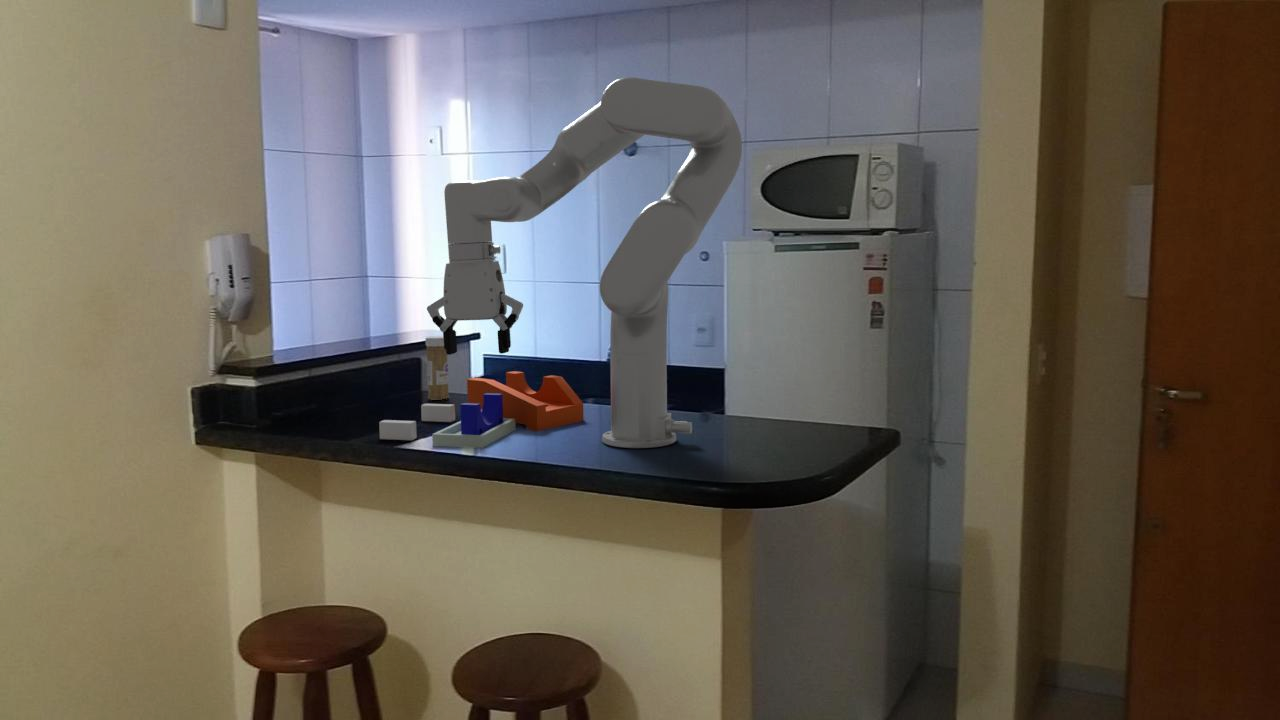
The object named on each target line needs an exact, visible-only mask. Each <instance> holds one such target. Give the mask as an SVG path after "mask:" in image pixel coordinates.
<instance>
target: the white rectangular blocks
mask: <svg viewBox="0 0 1280 720" xmlns="http://www.w3.org/2000/svg"><path fill="white" fill-rule="evenodd" d="M420 409H421V410H420V412H421V413H420V414H421V421H422V422H436V423H437V422H441V423H443V422H444V423H452V422H454V421H456V404H448V403H446V404H445V403H422V404H421V405H420ZM378 423H379V428H378V429H379V440H392V441H397V440H399V441H414V440H415V439H417V420H399V419H398V420H396V419H393V420H392V419H383V420H381V421H379V422H378Z"/></svg>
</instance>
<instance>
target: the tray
mask: <svg viewBox="0 0 1280 720" xmlns="http://www.w3.org/2000/svg"><path fill="white" fill-rule="evenodd" d="M514 431H516V423H515V419H512V418H503V423H502V424H500V425H498V426H496V427H494V428H492V429H490V430H488V431H486V432H485V433H483V434H481V435H465V434H461V420H460V421H457V422H455V423H453V424H451V425H449V426H447V427H445V428H442V429H440V430H438V431H436V432H434V433H432V434H431V436H432V437H431V438H432V439H431V440H432V447H450V448H451V447H453V448H474V449H475V448H477V449H478V448H479V449H484V448H485V447H487V446H489V445H491V444H492V443H494V442H495V441H497V440H500V439H501V438H503V437H505V436H507V435H509V434H510V433H512V432H514Z"/></svg>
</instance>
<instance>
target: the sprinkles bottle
mask: <svg viewBox="0 0 1280 720" xmlns="http://www.w3.org/2000/svg"><path fill="white" fill-rule="evenodd" d="M425 346H426V370H427V371H426V372H427V373H426V374H427V375H426V376H427V389H428V395H427V399H428V400H429V399H430V400H429V401H432V400H441V401H443V400H442V399H446V400H448V399H447V398H449V399H450V394H449V393H450V392H449V363H448V355H447V354H446V349H445V348H444V339H443V335H431V336H426V337H425Z"/></svg>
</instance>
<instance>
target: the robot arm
mask: <svg viewBox="0 0 1280 720" xmlns="http://www.w3.org/2000/svg"><path fill="white" fill-rule="evenodd" d="M740 130H741V129H740V128H739V125H738V123H737V121H736V118H735V116H734V114H733V112H732V111H731V110H730V108H729V106H728V105H727V102H725V100H724V99H723V98H721V97H720V95H719V94H718V93H717V92H715V91H713V90H712V89H710V88H708V87H705V86H700V85H694V84H687V83H686V84H684V83H678V82H668V81H663V80H662V81H661V80H652V79H645V78H638V77H632V76H631V77H630V76H627V77H621V78H618V79H616V80H613V81H612V82H611V83H610V84H609V85H607V87H606V88H605V89H604V91H603V93H602V94H601V98H600V102H599V103H598V104H595V105H594V106H593V107H592V108H591V109H589V110H587V111H586V112H585V113H584V114H582V115H580V117H578V118H577V119H576V120H574V121H573V122H571V123H570V124H568V125H567V126H565V127H563V129H562V130H561V131H560V132H559V134H558V135H557V138H556V141H555V142H554V145H553V147H551V150H550V151H549V152H548V153H547V154H546V155H545V156H544V157H542V158H541V159H540V160H539V161H538V162H537V163H535V164H534V165H533V166H531V167H530V168H528V169H527V170H526V171H524V172H523V173H521V174H520V175H519V176H517V177H512V176H503V177H502V176H500V177H495V178H490V179H486V180H460V181H459V180H457V181H452V182H448V183H447V184H446V185H445V187H444V191H443V192H444V209H445V218H446V220H445V221H446V222H445V223H446V234H447V235H446V237H447V249H448V250H447V251H448V261H449V262H447V263H446V264H445V267H444V276H443V297H441V298H439V299H437V300H436V301H434V302H433V303H431V304H430V305H428V306H427V307H426V311H427V313H428V314H429V316H430V317H431V319H432V322H433V323H434V325H436V326H437V327H438V328H439V331H441V332H442V336H443V339H444V348H445V349H446V354H447V356H450V355H453V354H457V353H458V348H457V347H458V345H457V343H458V341H457V331H456V330H455V329H454V327H455V326H456V324H457V322H458V321H484V320H485V321H487V320H488V321H489V320H492V321H494V323H495V324H496V325H497V326H498V327H499V329H498V330H497V344H498V346H497V347H498V353H499V354H501V355H502V354H507V353H508V352H509V351H510V348H511V347H512V344H511V343H512V341H511V330H510V329H512V328H513V325H514V324H516V322H517V321H518V320H519V317H520V315H521V313H522V310H523V307H524V303H523V302H521V301H519V300H517V299H515V298H514V297H511V296H509V295H507V294H506V289H505V282H504V277H503V274H502V270H501V265H500V261H499V260H494V258H495V255H499V254H501V250H502V249H501V247H500V245H494V244H495V243H494V242H493V232H492V222H501V223H516V222H517V223H521V222H523V223H524V222H527V221H530V220H531V219H534V218H535V217H537V216H539V215H540V214H541V213H543V212H544V211H546V210H547V209H549V208H551V206H553V205H555V204H556V203H557V202H558V201H560V200H562V198H564V197H565V196H566V195H568V194H569V193H570V192H571V191H572V190H574V189H575V188H576V187H577V186H578V185H579V184H581V183H582V182H584V181H585V180H586V179H587V178H588V177H590V175H592V173H594V172H595V171H597V170H599V168H600V167H602V166H603V165H604V164H606V163H607V162H608V161H610V160H612V159H613V158H614V157H615V156H617V155H619V154H620V153H621V152H622V151H624V150H626V149H627V148H628V147H630V146H631V145H633V144H634V143H635V142H637V141H638V140H640V139H641V138H642V137H643V136H653V137H659V138H667V139H674V140H679V141H680V140H681V141H686V142H689V144H690V151H689V154H688V155H687V158H686V159H685V161H684V162H683V164H682V165H681V166H680V167H679V169H678V171H677V173H676V175H675V176H674V178H673V180H672V182H671V183H670V184H669V186H668V188H667V189H666V190H665V192H664V193H663V195H662V196H661V197H660V199H658V200H655V201H653V202H652V203H649V204H648V205H647V206H645V207H644V209H642V211H641V212H640V213H639V214H638V216H637V217H636V218H635V219H634V221H633V223H632V224H631V226H630V228H629V229H628V231H627V233H626V234H625V236H624V237H623V239H622V241H621V242H620V244H619V245H618V247H617V248H616V250H615V252H614V253H613V255H612V256H611V258H610V260H609V262H607V265H606V266H605V268H604V269H603V272H602V275H601V277H600V279H599V294H600V298H601V300H602V302H603V304H604V305H605V307H606V308H607V309H608V310H609V311H610V312H611V314H610V334H609V336H610V338H609V339H610V345H609V346H610V351H609V354H610V357H609V360H610V423H611V424H610V427H611V430H609V431H606V432H604V433H603V434H602V436H601V437H602V439H601V441H602V442H603V443H604V444H605V445H608V446H611V447H614V448H615V447H616V448H623V449H624V448H626V449H650V448H653V449H654V448H659V447H661V448H662V447H666V446H669V445H672V444H674V443H675V442H676V441H677V434H681V435H682V434H685V435H686V434H687V435H691V434H692V431H693V423H692V422H691V421H690V422H688V421H687V420H680V421H678V420H674V419H672V412H668V397H667V396H668V394H667V393H668V383H667V381H668V374H667V372H668V370H667V369H668V368H667V364H668V359H667V357H668V356H667V351H668V343H667V342H668V335H667V333H668V308H669V307H668V306H669V282H668V281H669V280H670V278H671V276H672V275H673V274H674V272H675V270H676V269H677V267H678V266H679V264H680V263H681V261H682V260H683V258H684V257H685V255H686V254H688V253H690V252H691V250H693V248H694V247H695V245H696V244H697V243H698V240H699V239H700V236H701V234H702V233H703V231H704V229H705V228H706V225H707V224H708V223H709V221H710V219H711V218H712V216H713V215H714V213H715V212H716V210H717V208H718V206H719V205H720V203H721V201H722V200H723V198H724V196H725V194H726V192H727V191H728V189H729V188H730V186H731V184H732V183H733V182H734V179H735V176H736V175H737V172H738V170H739V167H740V164H741V161H742V154H743V141H742V135H741V131H740ZM507 307H511V312H510V314H509V315H508V317H507V316H506V314H507V309H508V308H507ZM441 308H443V312H444V316H445V318H444V317H443V316H442V315H441V314H440V312H439V310H440V309H441Z"/></svg>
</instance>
